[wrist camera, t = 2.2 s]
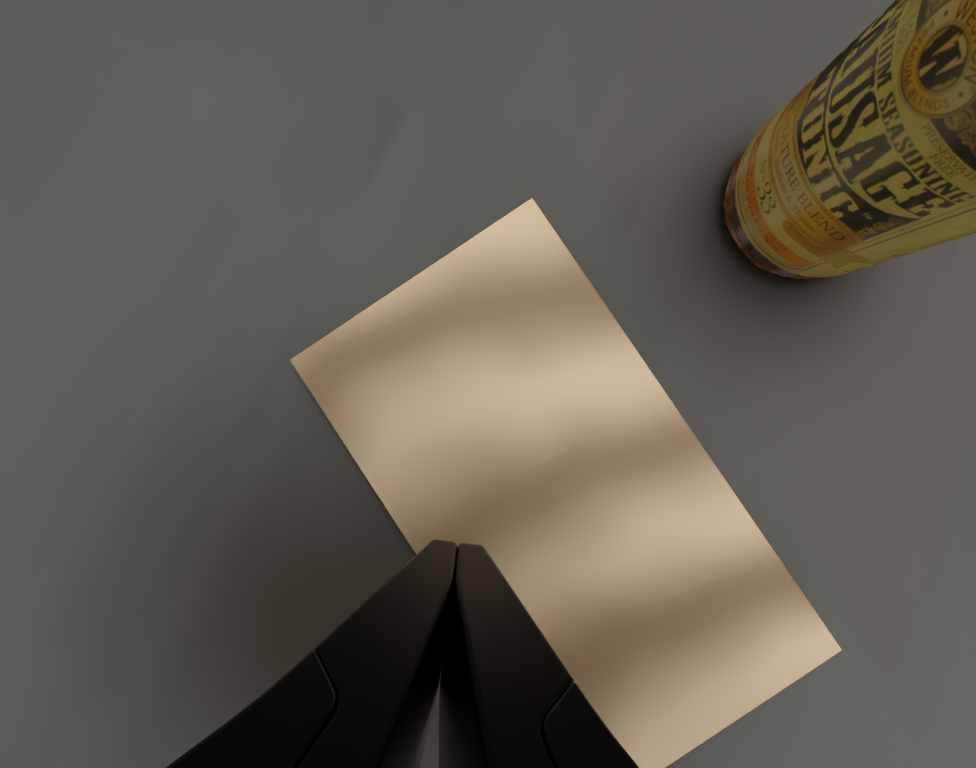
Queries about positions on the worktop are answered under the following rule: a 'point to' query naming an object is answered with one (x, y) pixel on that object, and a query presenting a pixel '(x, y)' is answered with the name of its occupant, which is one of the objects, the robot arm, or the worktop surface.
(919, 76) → the sauce bottle
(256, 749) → the robot arm
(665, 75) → the worktop surface
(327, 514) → the worktop surface
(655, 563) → the beech cutting board
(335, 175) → the worktop surface
